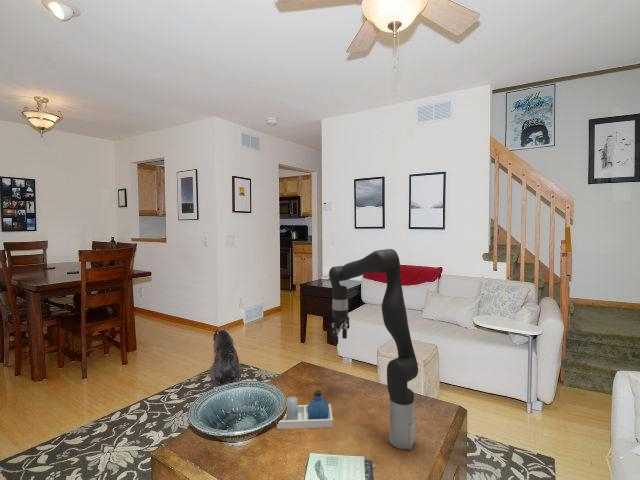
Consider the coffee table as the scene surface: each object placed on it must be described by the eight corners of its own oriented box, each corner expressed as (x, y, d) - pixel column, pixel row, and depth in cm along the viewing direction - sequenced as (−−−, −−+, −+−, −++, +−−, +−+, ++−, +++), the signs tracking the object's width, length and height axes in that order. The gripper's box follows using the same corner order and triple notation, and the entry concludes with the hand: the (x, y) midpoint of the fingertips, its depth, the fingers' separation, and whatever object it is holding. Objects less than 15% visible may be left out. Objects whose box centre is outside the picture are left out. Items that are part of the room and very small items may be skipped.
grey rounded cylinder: (300, 417, 147) (299, 397, 147) (294, 424, 143) (293, 403, 142) (289, 415, 149) (289, 395, 149) (284, 421, 145) (283, 401, 144)
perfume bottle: (320, 425, 142) (319, 397, 141) (308, 420, 145) (307, 393, 145) (328, 417, 147) (327, 390, 146) (316, 413, 151) (316, 387, 150)
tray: (330, 412, 153) (330, 404, 152) (332, 429, 141) (332, 420, 140) (279, 414, 152) (279, 405, 151) (276, 431, 140) (276, 422, 139)
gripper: (339, 312, 155) (339, 347, 156) (354, 305, 166) (354, 338, 168) (325, 310, 159) (325, 344, 160) (340, 303, 171) (340, 335, 172)
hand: (340, 341), depth 164 cm, fingers open, 8 cm apart
